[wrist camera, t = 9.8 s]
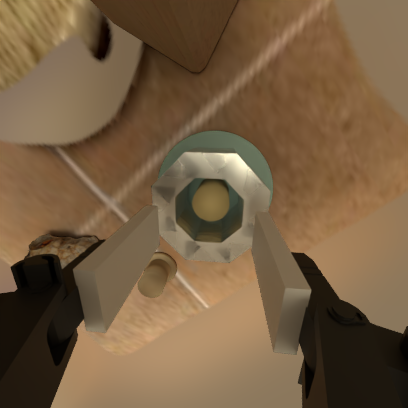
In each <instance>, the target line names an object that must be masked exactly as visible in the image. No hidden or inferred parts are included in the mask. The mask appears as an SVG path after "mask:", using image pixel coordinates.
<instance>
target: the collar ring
mask: <svg viewBox="0 0 408 408" xmlns="http://www.w3.org/2000/svg"><path fill="white" fill-rule="evenodd" d="M194 178H209V179H225V180H226V181H227V182H228V183H229V184H230V185H231V187H232V188H233V189H234V190H235V191H236V192H237V193H238V203H237V204H236V205H234V206H233V207H232V208H231V209H230V210H228V212H227V213H226V215H225V216H224V217H223V218H221V219H219V220H217V221H206V220H203V219H201V218H200V217H199V216H198V215H197V214H196V213H195V212H194V209H193V206H192V203H191V202H190V201H189V183H190V182H191V181H192V180H193V179H194ZM151 188H152V204H153V206H158V220H159V235H160V236H161V237H162V238H163V239H164V240H165V241H166V242H168V243H169V244H170V245H171V246H172V247H173V248H174V249H175V250H176V251H177V252H178V253H179V254H180V255H181V256H182V257H183V258H184V259H185V260H197V261H210V262H222V263H230V262H231V261H233V260H234V259H235V258H237V257H238V256H240V255H241V254H242V253H244V252H245V251H246V250H248V249H249V248H251V247H252V241H253V232H254V223H255V213H256V211H262V212H268V208H269V201H270V193H271V191H270V190H269V189H268V187H267V186H266V185H265V184H264V182H263V181H262V180H261V178H260V177H259V176H258V175H257V174H256V173H255V172H254V170H253V169H252V168H251V167H250V166H249V165H248V164H247V163H246V161H245V160H244V159H243V158H242V157H241V156H240V155H239V154H238V152H237V151H236V150H235V149H234V148H203V147H196V148H193V149H191V150H188V151H186V152H184V153H183V154H182V155H181V156H180V157H179V158H178V160H177V161H176V162H175V163H174V164H173V165H172V166H171V167H170V168H169V169H168V170H167V171H166V172H165V173H164V174H163V175H162V176H161V177H160V178H159V179H158V180H157V181H156V182H155V183H154V184H153V185H152V186H151Z"/></svg>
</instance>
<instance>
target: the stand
mask: <svg viewBox="0 0 408 408" xmlns="http://www.w3.org/2000/svg"><path fill="white" fill-rule="evenodd" d="M144 271H145V272H144V273H143V275H142V277H141V278H140V280H139V282H138V289H139V291H140V292H141V293H142V294H143V295H144V296H146V297H150V298H155V297H158V296H160V295H161V294H162V292H163V289H164V287H165V284H166V282H168V281H170V280H171V279H173V277H174V276H175V274H176V271H177V265H176V262H175V261H174V259H173V258H172V257H171V256H169V255H168V254H166V253H162V252H155V253H154V254H153V256H152V258H151V259H150V261H149V263H148V264H147V266H146V268H145V269H144Z"/></svg>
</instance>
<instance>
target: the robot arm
mask: <svg viewBox="0 0 408 408" xmlns="http://www.w3.org/2000/svg"><path fill="white" fill-rule="evenodd" d="M159 245H160V238H159V220H158V206H151V205H146V206H145V207H143V208H142V209H141V210H140V211H139V212H138V213H137V214H135V215H134V216H133V217H132V218H131V219H130V220H129V221H127V222H126V223H125V224H124V225H123V226H122V227H121V228H119V229H118V230H117V231H116V232H115V233H114V234H113V235H111V236H110V237H109V238H108V239H107V240H101V241H98V242H96V243H94V244H92V245H91V246H90V247H89V248H87V249H86V250H85V252H82V253H81V254H80V255H79V256H78V257H76V258H75V259H74V260H73V261H71V262H70V263H69V264H68V265H66V266H65V267H64V268H63V269H62V267H61V263H60V259H59V257H58V255H55V254H40V255H35V256H32V257H29V258H26V259H24V260H21V261H19V262H17V263H16V264H14V265H13V266H11V270H12V273H13V276H14V279H15V282H16V285H17V288H18V289H17V290H16V291H15V292H8V293H1V294H0V408H50V407H51V405H52V402H53V400H54V397H55V395H56V392H57V389H58V387H59V384H60V382H61V379H62V377H63V374H64V371H65V369H66V367H67V364H68V362H69V359H70V357H71V354H72V351H73V349H74V347H75V344H76V341H77V337H78V333H77V329H76V328H77V327H78V326H79V324H80V323H81V322H82V321H83V319H84V322H85V327H86V331H93V332H102V333H106V331H107V330H108V328H109V326H110V325H111V323H112V322H113V320H114V318H115V317H116V315H117V313H118V312H119V310H120V308H121V307H122V305H123V304H124V302H125V300H126V299H127V297H128V295H129V294H130V292H131V290H132V289H133V287H134V286H135V284H136V282H137V281H138V279H139V277H140V276H141V274H142V272H143V271H144V269H145V268H146V266H147V264H148V263H149V261H150V259H151V258H152V256H153V254H154V253H155V251H156V249H157V248H158V246H159ZM251 251H252V255H253V260H254V264H255V269H256V274H257V278H258V283H259V287H260V292H261V297H262V300H263V306H264V310H265V315H266V320H267V324H268V329H269V333H270V338H271V343H272V347H273V352H275V353H284V354H293V355H296V354H297V350H298V346H299V343H300V346H301V349H302V352H303V355H304V360H303V364H302V368H301V372H300V376H299V380H298V383H299V384H301V385H302V408H408V326H407V327H406V329H405V331H404V333H403V334H402V333H398V332H395V331H392V330H389V329H386V328H383V327H380V326H376V325H374V324H372V323H370V322H369V320H368V319H367V317H366V315H364V314H363V313H362V312H361V311H360V310H359V309H358V308H356V307H355V306H353V305H351V304H350V303H348V302H345V301H343V300H340V299H339V297H338V296H337V294H336V293H335V292H334V290H333V289H332V287H331V286H330V284H329V283H328V282H327V280H326V278H325V277H324V276H323V274H322V273H321V271H320V270H319V269H318V267H317V265H316V264H315V262H314V261H313V260H312V259H311V258H309V257H308V256H307V255H305V254H304V253H294V252H290V250H289V248H288V246H287V245H286V243H285V241H284V239H283V237H282V235H281V234H280V232H279V230H278V228H277V226H276V224H275V223H274V221H273V219H272V217H271V215H270V214H269V212H262V211H256V213H255V223H254V232H253V241H252V250H251Z"/></svg>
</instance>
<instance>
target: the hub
mask: <svg viewBox="0 0 408 408" xmlns="http://www.w3.org/2000/svg"><path fill="white" fill-rule="evenodd" d="M196 147H203V148H234V149H235V150H236V151H237V152H238V154H239V155H240V156H241V157H242V158H243V159H244V160H245V161H246V163H247V164H248V165H249V166H250V167H251V168H252V169H253V170H254V172H255V173H256V174H257V175H258V176H259V177H260V178H261V180H262V181H263V182H264V184H265V185H266V186H267V187H268V189H269V190H270V191H271V193H270V201H269V206H270V204H271V200H272V194H273V181H272V175H271V171H270V168H269V166H268V164H267V162H266V160H265V158H264V157H263V155H262V154H261V152H260V151H259V150H258V149H257V148H256V147H255V146H254V145H253V144H251V143H250V142H249V141H247V140H246V139H244V138H242V137H240V136H238V135H236V134H233V133H229V132H224V131H205V132H200V133H197V134H194V135H191V136H189V137H187V138H185V139H184V140H182V141H181V142H179V143H178V144H177V145H176V146H174V148H173V149H172V150H171V151H170V152H169V153H168V155H167V156H166V158H165V159H164V161H163V163H162V165H161V168H160V171H159V176H158V179H159V178H160V177H161V176H162V175H163V174H164V173H165V172H166V171H167V170H168V169H169V168H170V167H171V166H172V165H173V164H174V163H175V162H176V161H177V160H178V158H179V157H180V156H181V155H182V154H183V153H184V152H186V151H188V150H191V149H193V148H196ZM189 201H190V202H191V203H192V206H193V209H194V212H195V213H196V214H197V215H198V216H199V217H200V218H201V219H203V220H206V221H217V220H219V219H221V218H223V217H224V216H225V215H226V213H227V212H228V210H230V209H231V208H232V207H233V206H234V205H236V204H237V203H238V193H237V192H236V191H235V190H234V189H233V188H232V187H231V185H230V184H229V183H228V182H227V181H226V180H225V179H209V178H194V179H193V180H192V181H191V182H190V183H189ZM268 209H269V208H268Z"/></svg>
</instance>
